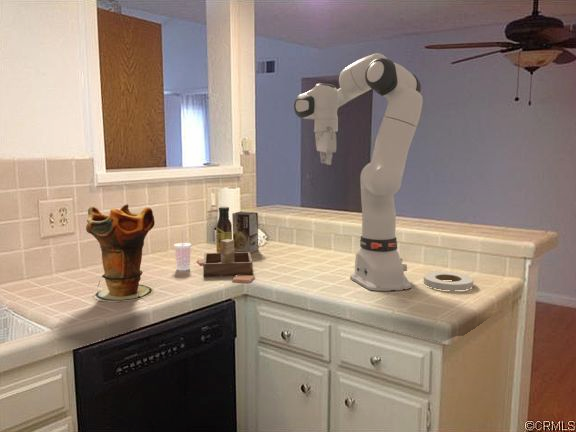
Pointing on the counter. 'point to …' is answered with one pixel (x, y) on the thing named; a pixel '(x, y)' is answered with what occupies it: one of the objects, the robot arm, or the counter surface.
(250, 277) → the tile
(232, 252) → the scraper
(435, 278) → the roll of tape
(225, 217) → the sauce bottle
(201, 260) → the tile
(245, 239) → the coffee box
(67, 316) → the counter surface
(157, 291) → the counter surface
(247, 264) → the box
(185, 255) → the beverage cup
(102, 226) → the decorative vase
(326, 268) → the counter surface
